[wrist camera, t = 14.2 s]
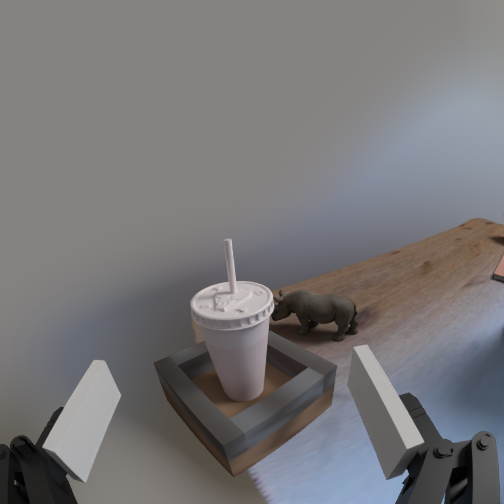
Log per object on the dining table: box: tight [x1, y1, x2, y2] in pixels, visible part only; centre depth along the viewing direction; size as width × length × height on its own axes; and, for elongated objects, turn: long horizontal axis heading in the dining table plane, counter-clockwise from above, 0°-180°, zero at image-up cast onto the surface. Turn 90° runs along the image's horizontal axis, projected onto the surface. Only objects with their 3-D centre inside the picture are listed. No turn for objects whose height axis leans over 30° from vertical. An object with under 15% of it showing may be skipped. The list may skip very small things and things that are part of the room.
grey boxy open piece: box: [154, 330, 337, 477], centre depth 24 cm, size 12×12×6 cm
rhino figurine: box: [271, 290, 358, 341], centre depth 37 cm, size 4×14×6 cm, turn 63°
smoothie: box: [190, 239, 274, 401], centre depth 22 cm, size 6×6×14 cm
